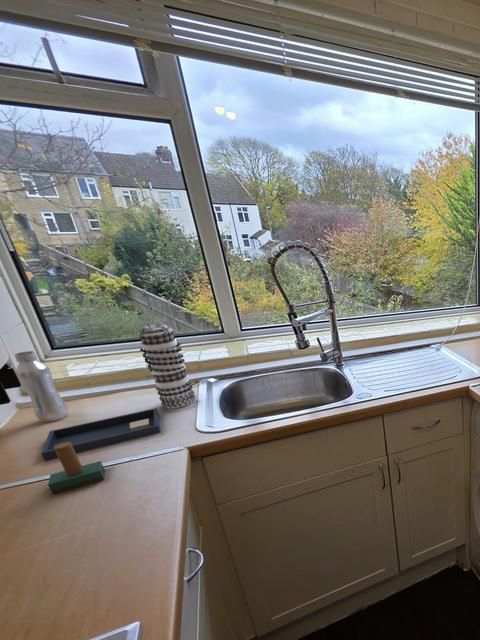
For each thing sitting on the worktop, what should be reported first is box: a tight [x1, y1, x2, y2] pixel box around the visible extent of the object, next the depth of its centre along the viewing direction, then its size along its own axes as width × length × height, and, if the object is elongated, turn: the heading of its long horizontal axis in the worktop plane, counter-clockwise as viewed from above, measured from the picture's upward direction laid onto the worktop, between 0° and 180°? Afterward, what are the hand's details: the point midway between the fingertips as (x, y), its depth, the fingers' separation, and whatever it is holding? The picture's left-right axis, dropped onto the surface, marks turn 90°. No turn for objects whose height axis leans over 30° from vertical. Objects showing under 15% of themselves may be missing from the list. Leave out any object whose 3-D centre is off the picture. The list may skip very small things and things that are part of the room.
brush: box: [47, 442, 106, 495], centre depth 89 cm, size 8×5×10 cm, turn 132°
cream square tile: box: [130, 419, 150, 431], centre depth 112 cm, size 4×4×1 cm
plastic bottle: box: [14, 350, 70, 423], centre depth 112 cm, size 6×7×20 cm
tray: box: [40, 407, 161, 461], centre depth 108 cm, size 22×14×3 cm, turn 130°
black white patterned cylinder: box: [136, 324, 197, 409], centre depth 121 cm, size 9×9×25 cm
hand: (4, 396), depth 79 cm, fingers open, 9 cm apart
